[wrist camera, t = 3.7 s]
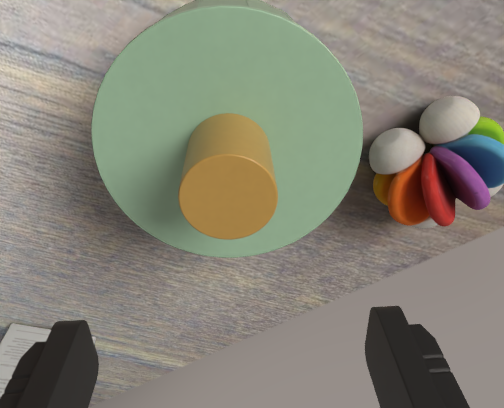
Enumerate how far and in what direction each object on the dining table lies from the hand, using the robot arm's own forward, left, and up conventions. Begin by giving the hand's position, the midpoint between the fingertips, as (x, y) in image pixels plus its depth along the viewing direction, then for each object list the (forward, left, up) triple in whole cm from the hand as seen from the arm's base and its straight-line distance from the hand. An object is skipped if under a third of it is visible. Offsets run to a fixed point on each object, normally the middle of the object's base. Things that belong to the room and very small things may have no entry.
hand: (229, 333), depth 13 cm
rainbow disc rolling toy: (+15, -5, -22) cm, 27 cm away
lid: (0, 0, -13) cm, 13 cm away
